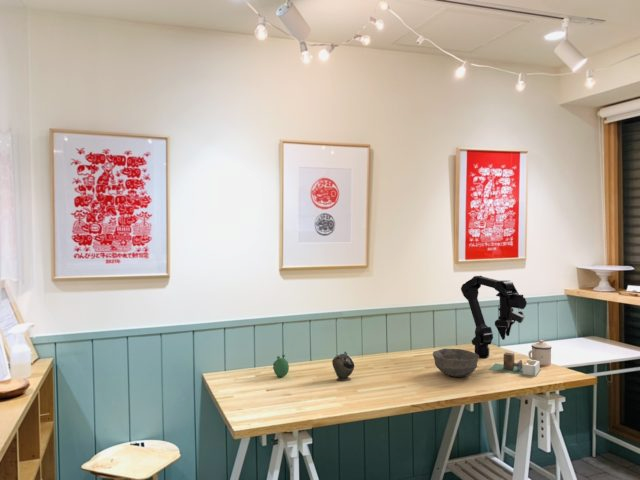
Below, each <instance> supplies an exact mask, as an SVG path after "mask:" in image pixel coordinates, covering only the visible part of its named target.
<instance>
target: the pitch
mask: <svg viewBox="0 0 640 480" xmlns="http://www.w3.org/2000/svg"><path fill="white" fill-rule="evenodd" d="M488 371H491V372H499V373H500V372H501V373H508V374H514V375H520V376H526V377H527V376H528V377H537V376H538V375H539V374H540V372H541V371H542V369H540V370H539V372H538V373H537V374H536V376H534V375H527V374H523V370H522V369H521V370H520V371H519V372H517V366H514V369H513V370H508V369H504V363H497V362H496V363H494V364H493V365H492V366H491V367H490V368H489V369H488Z"/></svg>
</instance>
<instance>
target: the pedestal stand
mask: <svg viewBox="0 0 640 480" xmlns="http://www.w3.org/2000/svg"><path fill="white" fill-rule="evenodd" d="M503 364H504V369H508V370H513V369H514V366H517V372H519V371H520V370H521V369H522V368H521V366H522V364H523V361H522V359H519V360H518V361H517V362H515V353H512V352H506V351H505V352H504V353H503Z"/></svg>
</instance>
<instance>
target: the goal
mask: <svg viewBox="0 0 640 480" xmlns="http://www.w3.org/2000/svg"><path fill="white" fill-rule="evenodd" d="M526 363H528V364H529V365H528V364H523V363H522V364H523V374H527V375H534V376H536V374H537V373H538V372H539V370H541V369H540V367H541V365H540V361H536V360H531V359H526ZM539 373H540V372H539ZM536 377H537V376H536Z"/></svg>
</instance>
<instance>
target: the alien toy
mask: <svg viewBox="0 0 640 480" xmlns="http://www.w3.org/2000/svg"><path fill="white" fill-rule="evenodd" d="M281 356H282V357H281ZM281 356H280V355H278V356H276V360H275V361H274V362H273V367H272V369H273V372H274V374H275V375H276V376H277V377H280V378H283V377H285V376H286V375H287V374H288V373H289V371H290V365H289V363H288V360H287V359H285V357H286V355H285V354H282V355H281Z"/></svg>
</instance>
